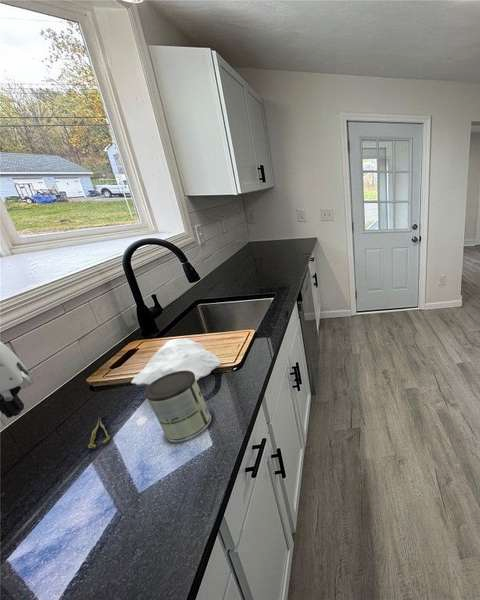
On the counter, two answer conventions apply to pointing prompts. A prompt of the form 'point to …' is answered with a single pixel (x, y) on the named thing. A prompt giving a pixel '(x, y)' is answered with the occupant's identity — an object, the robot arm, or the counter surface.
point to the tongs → (95, 434)
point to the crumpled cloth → (178, 361)
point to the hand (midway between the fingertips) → (16, 412)
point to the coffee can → (178, 405)
